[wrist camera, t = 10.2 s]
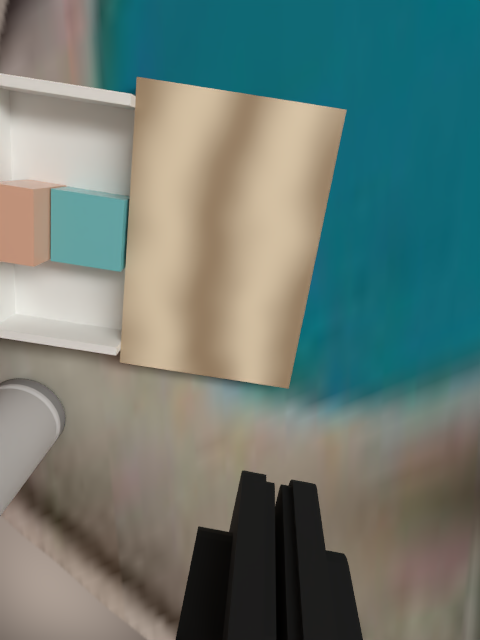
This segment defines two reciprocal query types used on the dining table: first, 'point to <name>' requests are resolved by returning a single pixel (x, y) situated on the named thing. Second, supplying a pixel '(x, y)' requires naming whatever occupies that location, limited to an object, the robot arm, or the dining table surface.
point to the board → (223, 229)
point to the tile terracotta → (25, 221)
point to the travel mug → (25, 432)
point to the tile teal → (89, 228)
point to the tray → (71, 170)
